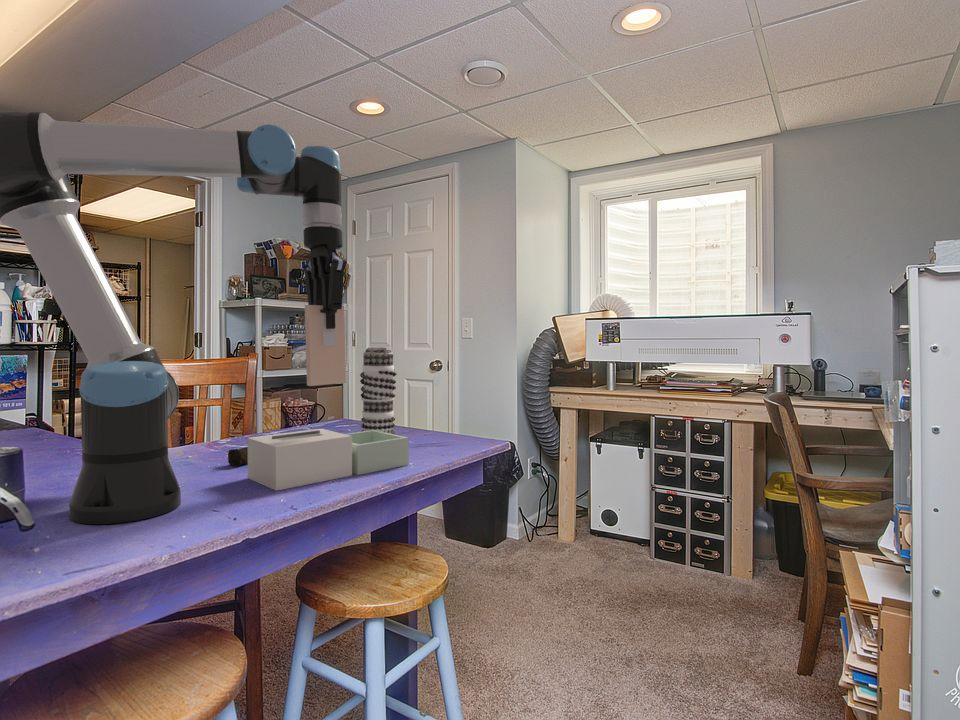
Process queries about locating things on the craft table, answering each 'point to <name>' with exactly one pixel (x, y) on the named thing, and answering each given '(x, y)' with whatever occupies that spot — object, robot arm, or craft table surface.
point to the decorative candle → (378, 390)
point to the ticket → (324, 349)
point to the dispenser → (299, 458)
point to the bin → (378, 451)
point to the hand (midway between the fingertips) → (326, 345)
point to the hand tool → (238, 456)
